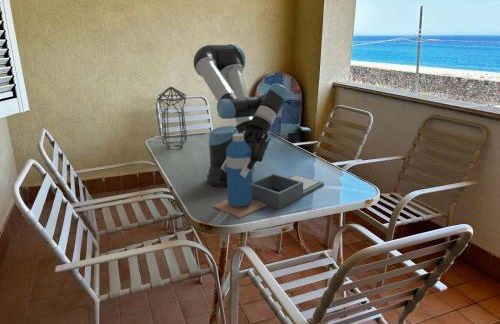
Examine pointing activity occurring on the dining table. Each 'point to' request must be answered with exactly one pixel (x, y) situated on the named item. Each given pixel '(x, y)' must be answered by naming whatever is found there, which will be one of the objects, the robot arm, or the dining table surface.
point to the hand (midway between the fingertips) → (232, 173)
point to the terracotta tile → (240, 208)
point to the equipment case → (282, 189)
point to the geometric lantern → (176, 112)
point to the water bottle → (238, 172)
